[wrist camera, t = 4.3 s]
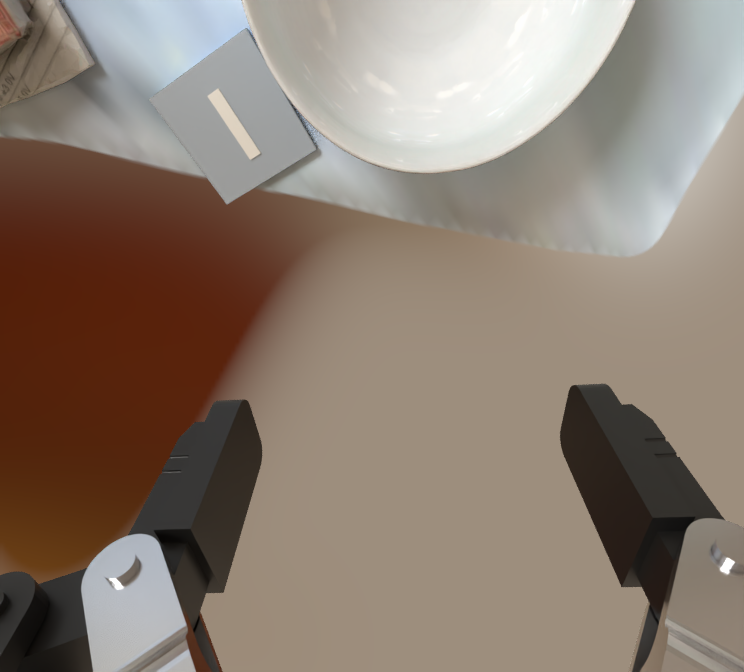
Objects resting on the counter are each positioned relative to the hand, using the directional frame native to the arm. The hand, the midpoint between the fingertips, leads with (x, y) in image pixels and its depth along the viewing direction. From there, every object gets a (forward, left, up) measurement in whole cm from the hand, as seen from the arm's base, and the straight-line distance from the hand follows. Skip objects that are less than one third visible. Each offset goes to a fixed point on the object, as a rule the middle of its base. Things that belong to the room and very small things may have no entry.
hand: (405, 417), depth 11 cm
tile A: (-6, +7, -21) cm, 23 cm away
